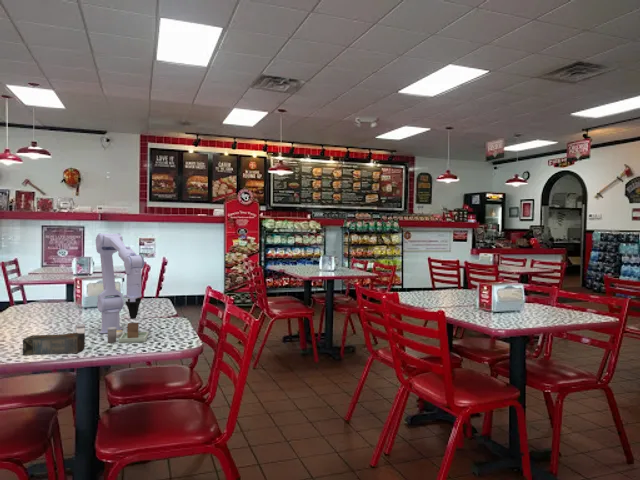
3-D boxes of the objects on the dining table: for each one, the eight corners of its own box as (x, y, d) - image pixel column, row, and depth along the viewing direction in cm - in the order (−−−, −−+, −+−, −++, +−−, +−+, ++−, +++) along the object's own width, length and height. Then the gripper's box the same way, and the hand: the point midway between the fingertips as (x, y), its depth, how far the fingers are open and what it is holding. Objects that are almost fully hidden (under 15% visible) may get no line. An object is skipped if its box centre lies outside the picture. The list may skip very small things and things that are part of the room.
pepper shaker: (108, 341, 191) (108, 326, 191) (117, 341, 192) (117, 326, 191) (106, 343, 187) (106, 328, 187) (115, 343, 188) (115, 328, 188)
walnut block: (128, 337, 196) (128, 323, 196) (138, 336, 197) (138, 322, 197) (127, 339, 192) (127, 324, 192) (137, 338, 193) (137, 324, 193)
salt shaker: (77, 338, 195) (77, 324, 195) (85, 338, 196) (85, 324, 196) (75, 340, 192) (75, 325, 192) (83, 340, 193) (84, 325, 193)
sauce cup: (113, 336, 201) (113, 330, 201) (123, 335, 202) (123, 329, 202) (111, 338, 197) (112, 332, 197) (122, 337, 198) (122, 331, 198)
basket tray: (123, 336, 199) (123, 332, 199) (148, 335, 202) (148, 331, 202) (118, 343, 188) (118, 338, 188) (145, 342, 190) (145, 337, 190)
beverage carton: (30, 350, 176) (31, 333, 176) (85, 348, 180) (86, 331, 180) (21, 356, 168) (21, 337, 168) (79, 354, 172) (79, 336, 172)
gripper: (125, 282, 200) (125, 314, 200) (121, 286, 186) (121, 320, 187) (142, 282, 202) (142, 313, 203) (140, 286, 189) (140, 319, 189)
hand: (133, 316), depth 195 cm, fingers open, 7 cm apart
